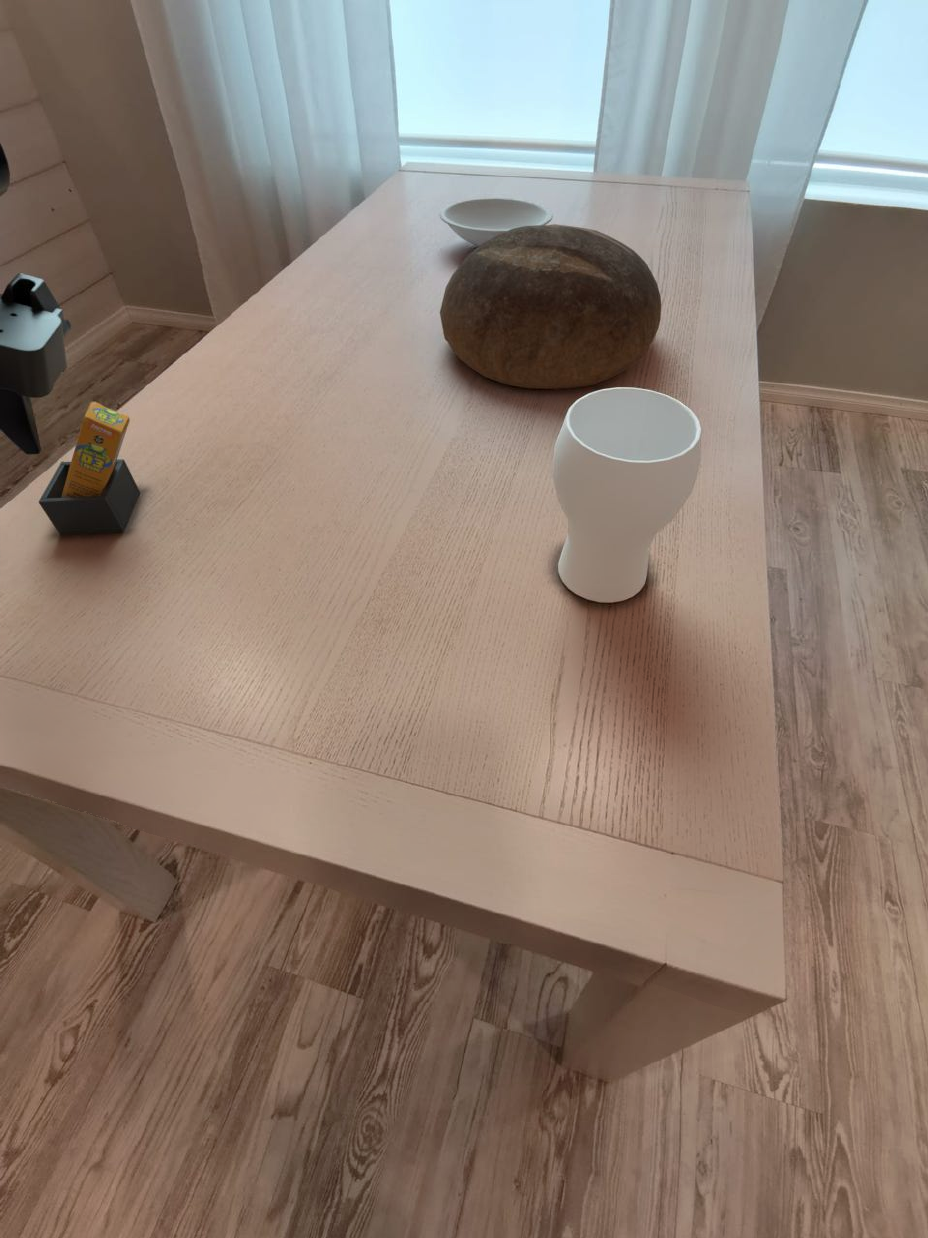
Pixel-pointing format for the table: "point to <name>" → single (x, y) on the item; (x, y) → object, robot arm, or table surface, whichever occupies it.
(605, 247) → the bread
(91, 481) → the supplement box
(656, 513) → the cup
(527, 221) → the dish
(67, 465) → the trash bin
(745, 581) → the table surface
